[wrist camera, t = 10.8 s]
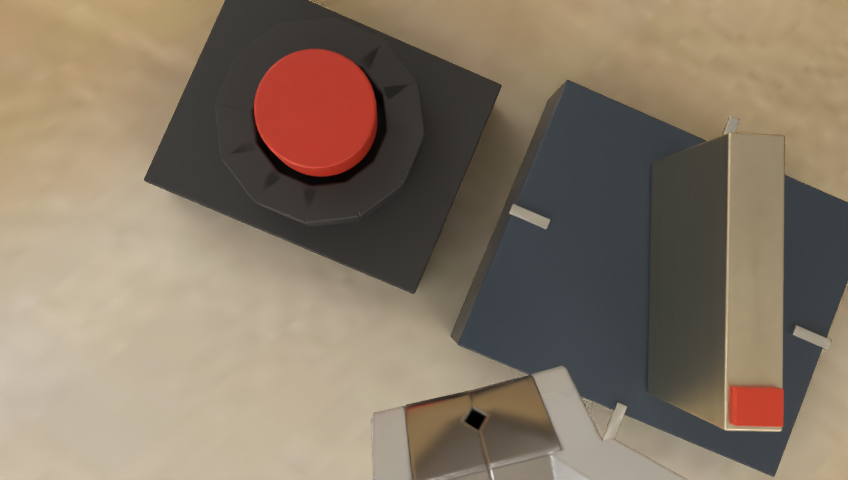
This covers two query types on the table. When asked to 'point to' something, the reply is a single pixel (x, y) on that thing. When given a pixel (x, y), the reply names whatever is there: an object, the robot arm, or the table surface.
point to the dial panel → (629, 271)
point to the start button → (316, 112)
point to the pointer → (719, 281)
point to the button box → (343, 193)
